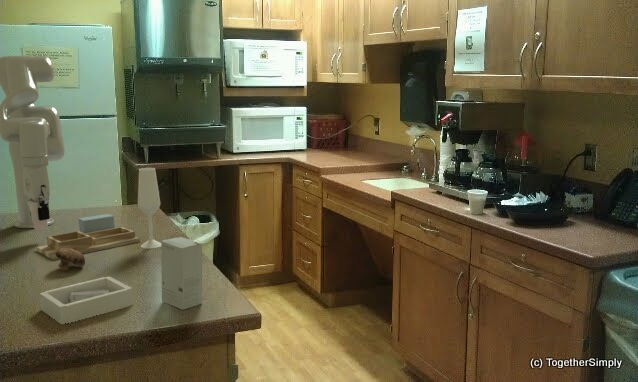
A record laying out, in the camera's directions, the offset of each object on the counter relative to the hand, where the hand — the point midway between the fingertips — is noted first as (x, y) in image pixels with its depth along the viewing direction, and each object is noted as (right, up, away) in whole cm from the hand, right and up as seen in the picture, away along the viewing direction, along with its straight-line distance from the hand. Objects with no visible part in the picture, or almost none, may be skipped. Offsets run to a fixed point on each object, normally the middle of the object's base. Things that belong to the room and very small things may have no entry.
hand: (39, 216), depth 193 cm
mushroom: (+20, -13, -25) cm, 35 cm away
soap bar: (+35, -19, -52) cm, 65 cm away
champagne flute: (+36, -9, -3) cm, 37 cm away
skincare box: (+56, -18, -51) cm, 78 cm away
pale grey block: (+14, -6, +11) cm, 19 cm away
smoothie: (0, -4, +1) cm, 4 cm away
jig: (+17, -9, -3) cm, 19 cm away
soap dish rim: (+35, -18, -53) cm, 66 cm away
